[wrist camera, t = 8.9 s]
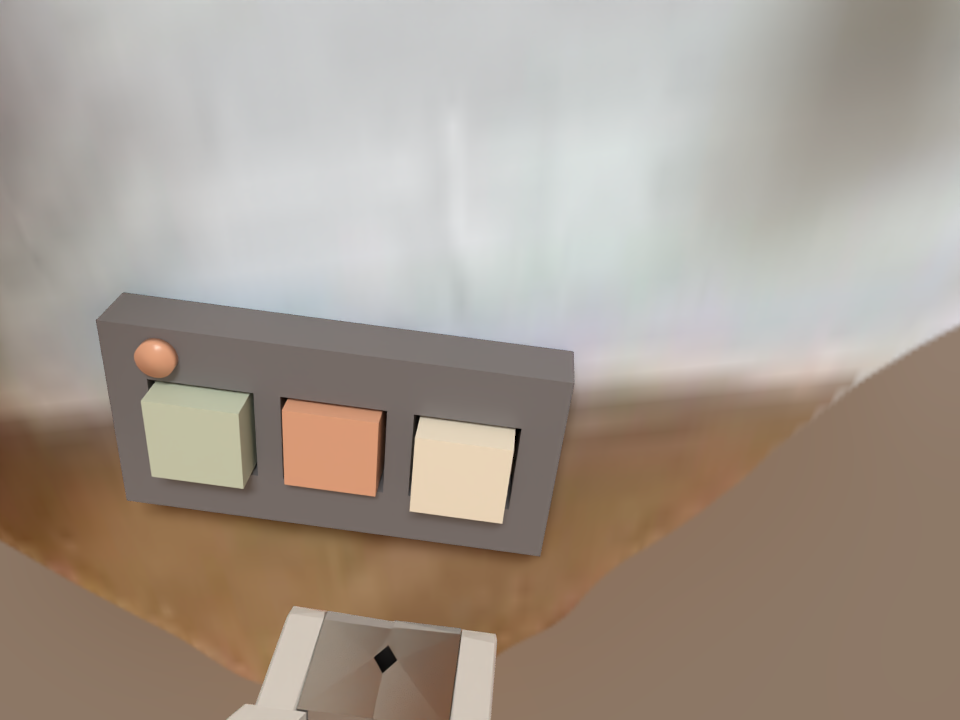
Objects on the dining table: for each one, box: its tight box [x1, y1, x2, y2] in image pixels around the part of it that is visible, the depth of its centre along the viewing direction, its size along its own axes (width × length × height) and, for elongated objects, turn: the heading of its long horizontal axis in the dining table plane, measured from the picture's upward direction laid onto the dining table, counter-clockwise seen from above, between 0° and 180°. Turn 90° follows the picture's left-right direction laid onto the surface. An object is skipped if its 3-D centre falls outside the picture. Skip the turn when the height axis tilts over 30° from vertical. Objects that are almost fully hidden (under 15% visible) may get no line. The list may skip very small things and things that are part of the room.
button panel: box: [96, 293, 574, 556], centre depth 45 cm, size 24×12×4 cm, turn 84°
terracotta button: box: [282, 398, 387, 497], centre depth 44 cm, size 5×5×3 cm
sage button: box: [141, 380, 257, 489], centre depth 44 cm, size 5×5×3 cm
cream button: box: [410, 416, 516, 524], centre depth 44 cm, size 5×5×3 cm
